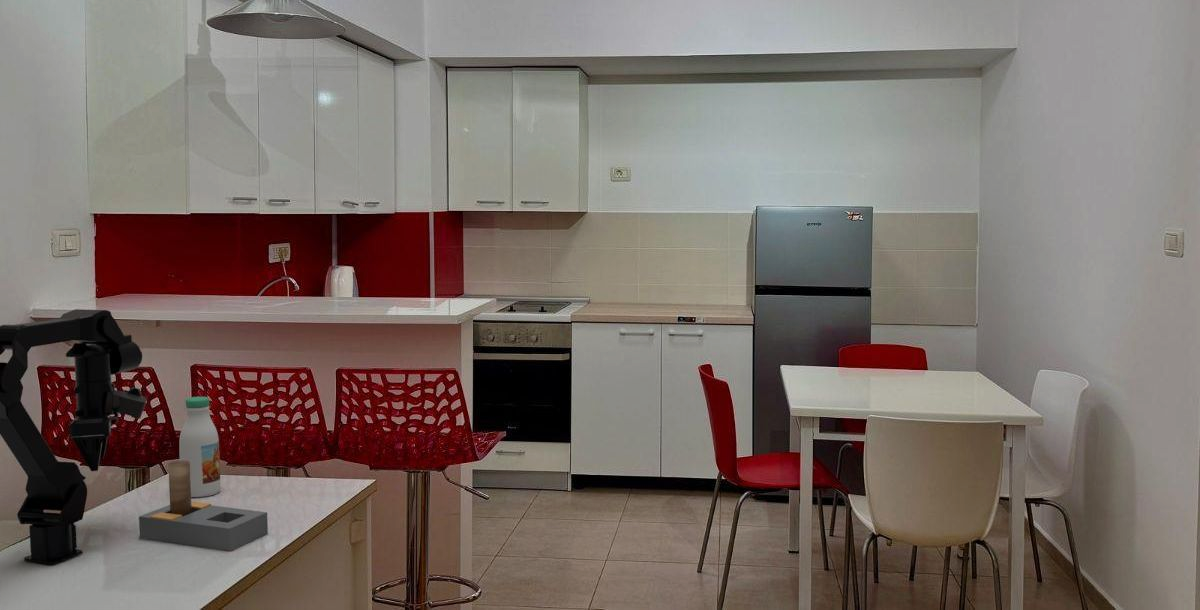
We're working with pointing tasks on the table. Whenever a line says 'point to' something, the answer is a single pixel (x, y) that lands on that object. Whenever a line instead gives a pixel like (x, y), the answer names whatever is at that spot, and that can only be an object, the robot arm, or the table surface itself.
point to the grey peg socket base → (205, 526)
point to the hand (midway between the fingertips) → (97, 464)
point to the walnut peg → (180, 488)
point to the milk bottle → (200, 448)
